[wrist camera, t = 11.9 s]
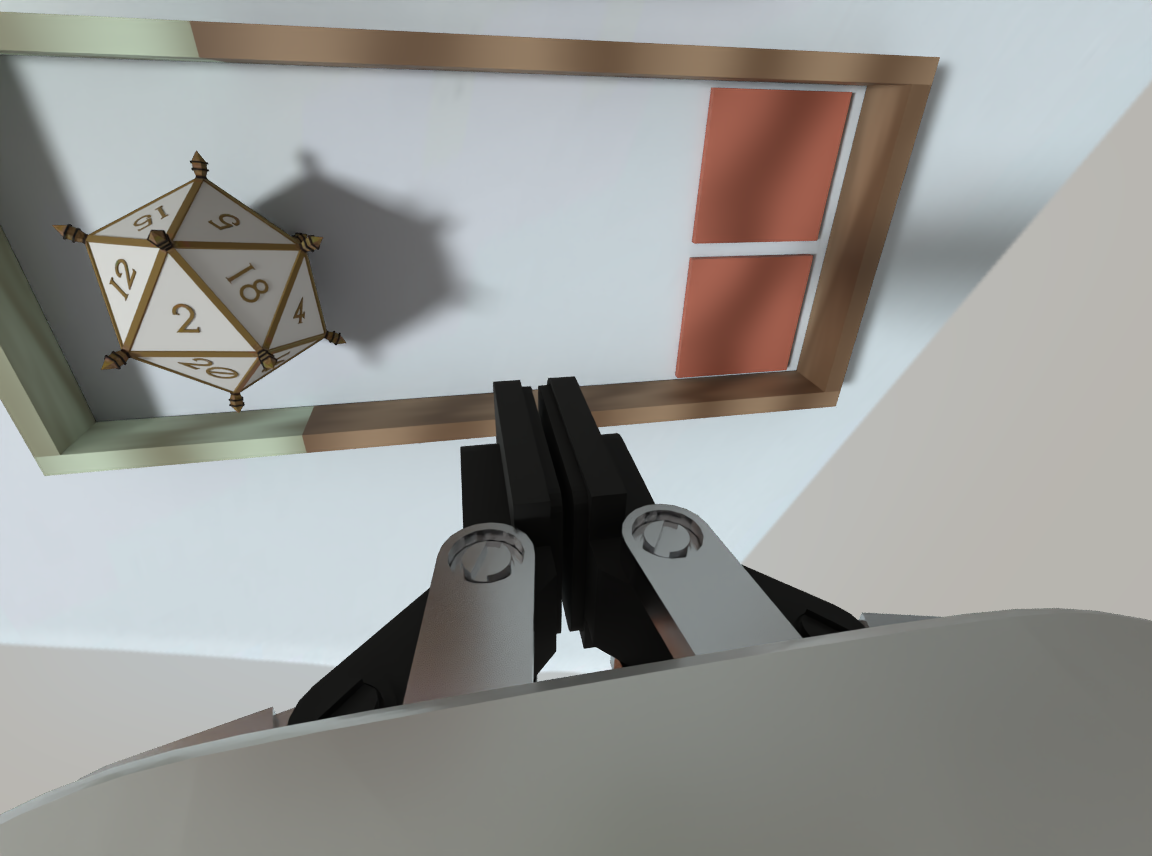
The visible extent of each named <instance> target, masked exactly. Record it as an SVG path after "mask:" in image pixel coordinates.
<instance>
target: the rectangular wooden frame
mask: <svg viewBox="0 0 1152 856" xmlns="http://www.w3.org/2000/svg"><path fill="white" fill-rule="evenodd" d="M0 54H2V55H30V56H58V57H85V58H113V59H141V60H168V61H196V62H224V63H251V64H279V65H307V66H335V67H362V68H390V69H418V70H445V71H473V72H501V73H528V74H556V75H584V76H611V77H639V78H667V79H695V80H722V81H750V82H778V83H805V84H833V85H861V86H867V88H866V92H865V96H864V100H863V104H862V108H861V112H860V116H859V120H858V124H857V128H856V132H855V136H854V141H853V145H852V149H851V153H850V157H849V161H848V165H847V169H846V173H845V177H844V181H843V185H842V189H841V193H840V197H839V201H838V205H837V209H836V213H835V217H834V221H833V225H832V229H831V233H830V237H829V241H828V245H827V249H826V253H825V257H824V262H823V266H822V270H821V274H820V278H819V282H818V286H817V290H816V294H815V298H814V302H813V306H812V310H811V314H810V318H809V322H808V326H807V330H806V334H805V338H804V342H803V346H802V350H801V354H800V358H799V362H798V366H797V370H796V371H785V372H772V373H758V374H745V375H731V376H717V377H704V378H690V379H676V380H663V381H649V382H635V383H622V384H608V385H594V386H581V387H580V389H581V391H582V393H583V396H584V398H585V400H586V402H587V405H588V407H589V409H590V411H591V413H592V416H593V418H594V420H595V422H596V425H597V427H606V426H618V425H629V424H640V423H652V422H663V421H674V420H686V419H697V418H708V417H720V416H731V415H742V414H754V413H765V412H776V411H788V410H799V409H811V408H822V407H833V406H836V404H837V400H838V397H839V394H840V390H841V387H842V384H843V380H844V377H845V374H846V370H847V367H848V364H849V360H850V357H851V354H852V350H853V347H854V343H855V340H856V337H857V333H858V330H859V327H860V323H861V320H862V317H863V313H864V310H865V307H866V303H867V300H868V297H869V293H870V290H871V287H872V283H873V280H874V276H875V273H876V270H877V266H878V263H879V260H880V256H881V253H882V250H883V246H884V243H885V240H886V236H887V233H888V230H889V226H890V223H891V220H892V216H893V213H894V209H895V206H896V203H897V199H898V196H899V193H900V189H901V186H902V183H903V179H904V176H905V173H906V169H907V166H908V163H909V159H910V156H911V153H912V149H913V146H914V142H915V139H916V136H917V132H918V129H919V126H920V122H921V119H922V116H923V112H924V109H925V106H926V102H927V99H928V96H929V92H930V89H931V86H932V82H933V79H934V75H935V72H936V69H937V65H938V62H939V59H940V57H922V56H901V55H880V54H860V53H839V52H819V51H798V50H778V49H757V48H736V47H716V46H695V45H675V44H654V43H633V42H613V41H592V40H572V39H551V38H530V37H510V36H489V35H469V34H448V33H428V32H407V31H386V30H366V29H345V28H325V27H304V26H283V25H263V24H242V23H222V22H201V21H180V20H160V19H139V18H119V17H98V16H78V15H57V14H36V13H16V12H0ZM851 95H852V92H828V91H798V90H768V89H738V88H711V94H710V102H709V110H708V117H707V125H706V133H705V141H704V149H703V157H702V165H701V173H700V181H699V189H698V197H697V205H696V213H695V221H694V229H693V237H692V242H693V243H695V244H697V243H739V242H781V241H817V239H818V234H819V230H820V226H821V222H822V217H823V213H824V209H825V205H826V201H827V196H828V192H829V188H830V184H831V180H832V175H833V171H834V167H835V163H836V158H837V154H838V150H839V146H840V142H841V137H842V133H843V129H844V125H845V121H846V116H847V112H848V108H849V104H850V100H851ZM812 260H813V255H810V254H796V255H761V256H727V257H692V258H690V261H689V269H688V277H687V285H686V293H685V301H684V309H683V317H682V325H681V333H680V341H679V349H678V357H677V365H676V373H675V375H676V377H677V378H683V377H697V376H711V375H724V374H738V373H752V372H766V371H779V370H786V369H787V365H788V361H789V356H790V352H791V348H792V344H793V340H794V335H795V331H796V327H797V323H798V319H799V314H800V310H801V306H802V302H803V297H804V293H805V289H806V285H807V281H808V276H809V272H810V268H811V264H812ZM532 392H533V395H534V399H535V402H536V406H537V409H538V390H532ZM0 399H1V401H2V403H3V405H4V406H5V408H6V410H7V412H8V413H9V415H10V417H11V418H12V420H13V422H14V424H15V425H16V427H17V429H18V431H19V432H20V434H21V436H22V438H23V439H24V441H25V443H26V444H27V446H28V448H29V450H30V451H31V453H32V455H33V457H34V458H35V460H36V462H37V464H38V465H39V467H40V469H41V471H42V472H43V474H44V476H50V475H61V474H73V473H84V472H95V471H107V470H118V469H129V468H141V467H152V466H163V465H175V464H186V463H198V462H209V461H220V460H232V459H243V458H254V457H266V456H277V455H288V454H300V453H311V452H322V451H334V450H345V449H356V448H368V447H379V446H391V445H402V444H413V443H425V442H436V441H447V440H459V439H470V438H481V437H493V436H496V425H495V409H494V393H485V394H471V395H458V396H444V397H430V398H417V399H403V400H390V401H376V402H362V403H349V404H335V405H321V406H308V407H294V408H280V409H267V410H253V411H240V413H238V412H226V413H212V414H198V415H185V416H171V417H157V418H144V419H130V420H116V421H103V422H96V421H95V419H94V417H93V415H92V413H91V411H90V409H89V407H88V404H87V402H86V400H85V398H84V396H83V394H82V392H81V390H80V388H79V386H78V384H77V382H76V380H75V378H74V376H73V374H72V372H71V370H70V368H69V366H68V363H67V361H66V359H65V357H64V355H63V353H62V351H61V349H60V347H59V345H58V343H57V341H56V339H55V337H54V335H53V333H52V331H51V329H50V327H49V325H48V322H47V320H46V318H45V316H44V314H43V312H42V310H41V308H40V306H39V304H38V302H37V300H36V298H35V296H34V294H33V292H32V290H31V288H30V286H29V284H28V281H27V279H26V277H25V275H24V273H23V271H22V269H21V267H20V265H19V263H18V261H17V259H16V257H15V255H14V253H13V251H12V249H11V247H10V245H9V243H8V240H7V238H6V236H5V234H4V232H3V230H2V228H1V226H0Z"/></svg>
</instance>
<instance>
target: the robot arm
mask: <svg viewBox="0 0 1152 856" xmlns="http://www.w3.org/2000/svg"><path fill="white" fill-rule="evenodd" d="M493 392H494V409H495V425H496V442H497V444H485V445H474V446H462V447H460V451H461V479H462V507H463V529H461V530H460V531H458V532H457V533H455V534H453V535H452V536H450V537H449V539H448V540H447V541H446V542H445V543H444V544H443V545H442V547H441V549H440V551H439V553H438V556H437V560H436V564H435V569H434V573H433V577H432V581H431V586H430V588H429V589H428V590H427V591H425V592H424V593H423V594H422V595H421V596H419V597H418V598H417V599H416V600H415V601H413V602H412V603H411V604H410V605H409V606H408V607H406V608H405V609H404V610H403V611H402V612H400V613H399V614H398V615H397V616H396V617H395V618H393V619H392V620H391V621H390V622H389V623H387V624H386V625H385V626H384V627H383V628H381V629H380V630H379V631H378V632H377V633H376V634H374V635H373V636H372V637H371V638H370V639H368V640H367V641H366V642H365V643H364V644H363V645H361V646H360V647H359V648H358V649H357V650H355V651H354V652H353V653H352V654H351V655H349V656H348V657H347V658H346V659H345V660H344V661H342V662H341V663H340V664H339V665H338V666H336V667H335V668H334V669H333V670H332V671H331V672H329V673H328V674H327V675H326V676H325V677H323V678H322V679H321V680H320V681H319V682H318V683H316V684H315V685H314V686H313V687H312V688H311V689H310V690H309V691H308V692H307V693H306V694H305V695H304V696H303V698H302V699H300V701H299V702H298V704H297V705H296V707H295V708H292V709H290V710H287V711H284V712H281V713H279V714H276V713H275V711H274V708H273V707H271V708H268V709H265V710H262V711H259V712H256V713H254V714H251V715H248V716H245V717H242V718H239V719H237V720H234V721H231V722H229V723H225V724H223V725H220V726H217V727H214V728H211V729H208V730H206V731H203V732H200V733H197V734H194V735H192V736H189V737H186V738H183V739H180V740H177V741H174V742H172V743H169V744H166V745H163V746H161V747H157V748H155V749H152V750H149V751H146V752H143V753H141V754H138V755H135V756H132V757H129V758H127V759H124V760H121V761H118V762H115V763H112V764H110V765H107V766H104V767H102V768H100V769H98V770H96V771H94V772H92V773H90V774H88V775H86V776H84V777H82V778H80V779H79V780H77V781H75V782H73V783H70V784H67V785H65V786H62V787H59V788H57V789H54V790H51V791H49V792H46V793H44V794H42V795H40V796H38V797H36V798H34V799H32V800H30V801H27V802H25V803H23V804H21V805H19V806H17V807H15V808H13V809H11V810H9V811H6V812H4V813H2V814H0V856H1152V621H1151V620H1147V619H1141V618H1135V617H1130V616H1124V615H1118V614H1112V613H1106V612H1100V611H1092V610H1091V611H1090V610H1076V609H1060V608H1044V609H1011V610H1002V611H992V612H982V613H971V614H961V615H954V616H947V617H934V616H915V615H897V614H877V613H862V614H861V616H860V619H859V620H857V619H856V618H855V617H854V616H852V615H851V614H850V613H848V612H846V611H844V610H843V609H841V608H839V607H837V606H835V605H833V604H831V603H829V602H827V601H824V600H822V599H820V598H817V597H815V596H813V595H810V594H808V593H806V592H804V591H801V590H799V589H797V588H794V587H792V586H790V585H787V584H785V583H783V582H780V581H778V580H776V579H773V578H771V577H769V576H767V575H764V574H762V573H759V572H757V571H755V570H753V569H750V568H748V567H746V566H744V565H741V564H740V563H739V561H738V560H737V559H736V558H735V557H734V555H733V554H732V553H731V552H730V551H729V549H728V548H727V547H726V546H725V545H724V543H723V542H722V541H721V540H720V539H719V537H718V536H717V535H716V534H715V533H714V531H713V530H712V529H711V528H710V527H709V525H708V524H707V523H706V522H705V521H704V520H703V519H701V518H700V517H699V516H698V515H696V514H695V513H693V512H691V511H689V510H687V509H685V508H681V507H678V506H675V505H667V504H655V503H654V501H653V499H652V497H651V495H650V493H649V491H648V489H647V487H646V485H645V483H644V481H643V479H642V477H641V475H640V473H639V471H638V469H637V467H636V465H635V463H634V461H633V459H632V457H631V455H630V453H629V451H628V449H627V447H626V445H625V443H624V441H623V439H622V437H621V436H620V434H617V433H614V434H603V435H601V434H600V431H599V429H598V427H597V425H596V422H595V420H594V418H593V416H592V413H591V411H590V409H589V407H588V405H587V402H586V400H585V398H584V396H583V393H582V391H581V389H580V387H579V384H578V382H577V380H576V378H575V376H574V377H559V378H548V381H547V385H542V386H538V409H537V406H536V402H535V399H534V395H533V392H532V388H531V386H527V387H522V386H521V382H520V380H513V381H498V382H493ZM562 602H563V607H564V611H565V616H566V620H567V625H568V628H569V631H570V632H571V631H578V630H579V631H580V635H581V639H582V643H583V647H584V649H586V648H592V647H597V648H599V649H600V650H602V651H604V652H605V653H607V654H609V655H611V660H610V663H611V667H612V669H611V670H605V671H599V672H593V673H587V674H581V675H575V676H569V677H564V678H557V679H551V680H545V681H539V682H537V674H538V673H539V672H540V670H541V669H542V668H543V667H544V666H545V664H546V663H547V662H548V661H549V659H550V658H551V657H552V656H553V655H554V653H555V652H556V634H558V633H561V618H562Z"/></svg>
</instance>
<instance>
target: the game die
mask: <svg viewBox="0 0 1152 856" xmlns="http://www.w3.org/2000/svg"><path fill="white" fill-rule="evenodd" d="M190 163H192V167H193V168H192V170H194V173H195V175H196V178H195V179H193V180H191V181H189V182H187V183H186V184H184V185H182V186H180V187H178V188H176V189H174V190H172V191H170V192H168V193H167V194H165V195H163V196H161V197H159V198H157V199H155V200H153V201H151V202H150V203H148V204H146V205H144V206H142V207H140V208H138V209H136V210H134V211H132V212H131V213H129V214H127V215H125V216H123V217H121V218H119V219H117V220H115V221H114V222H112V223H110V224H108V225H106V226H104V227H102V228H100V229H98V230H97V231H95V232H93V233H91V234H89V235H88V234H85V233H84V232H82V231H81V229H80V228H74V227H72V225H71V224H68V225H52V226H53V227H54V228H55V229H56V230H57V231H58V232H59V233H60V234H61V235H62V236H63V239H69V240H72V242H73V243H75V242H82V243H84V244H85V246H86V248H87V251H88V254H89V257H90V260H91V263H92V266H93V269H94V272H95V275H96V278H97V280H98V283H99V286H100V289H101V292H102V295H103V298H104V301H105V304H106V307H107V310H108V312H109V315H110V318H111V321H112V324H113V327H114V330H115V333H116V336H117V339H118V342H119V344H120V347H121V350H120V351H117V352H114V351H113V352H112V353H111V354H110V355H109V356H107V355H105V358H104V360H105V361H104V364H103V366H102V368H101V370H104V369H114V368H116V369H121V368H120V367H121V366H122V365H123V364H124V365H126V364H127V363H126V361H127V360H128V359H129V358H133V359H136V360H139V361H141V362H144V363H147V364H150V365H153V366H156V367H158V368H161V369H164V370H167V371H170V372H173V373H176V374H178V375H181V376H184V377H187V378H190V379H193V380H196V381H198V382H201V383H204V384H207V385H210V386H213V387H216V388H218V389H221V390H224V391H227V392H230V394H231V397H230V399H229V401H230V403H231V404H230V405H229V406H232V407H233V408H234V409H235V410H236V411H237V412H238V413H240V411H241V409H242V407H243V406H244V402H243V397H241V395H240V392H242V391H243V390H245V389H246V388H248V387H249V386H251V385H252V384H254V383H256V382H257V381H259V380H260V379H262V378H263V377H265V376H266V375H268V374H269V373H271V372H272V371H274V370H276V369H277V368H279V367H280V366H282V365H283V364H285V363H286V362H288V361H289V360H291V359H293V358H294V357H296V356H297V355H299V354H300V353H302V352H303V351H305V350H306V349H308V348H310V347H311V346H313V345H314V344H316V343H317V342H319V341H320V340H322V339H323V338H326V339H327V340H329V342H330V343H331V342H333V343H334V344H335V345H337V344H342V343H346V342H345V340H344V339H343V338H342V336H341V335H340V334H341V333H339V334H338V333H335V331H333V332H329V331H327V329H326V325H325V321H324V317H323V313H322V309H321V305H320V301H319V297H318V294H317V290H316V286H315V282H314V278H313V274H312V270H311V266H310V262H309V258H308V254H307V251H312V252H314V250H315V249H317V250H319V247H320V243H321V241H322V239H323V237H315V236H314V235H308V238H307V234H302V233H295V235H294V236H293V235H292V237H291V236H290V235H289V234H287V233H286V232H284V231H283V230H281V229H280V228H278V227H277V226H275V225H274V224H272V223H271V222H269V221H268V220H266V219H265V218H264V217H262V216H261V215H259V214H258V213H256V212H255V211H253V210H252V209H250V208H249V207H247V206H246V205H244V204H243V203H242V202H240V201H239V200H237V199H236V198H234V197H233V196H231V195H230V194H228V193H227V192H225V191H224V190H222V189H221V188H220V187H218V186H217V185H215V184H214V183H212V182H211V181H209V180H208V179H207V177H206V175H207V171H209V170H208V169H207V164H208V163H207V162H205V160H204V159H203V158H202V157H201V155H200V154H199V153H198V152H197V150H196V152H195V154H194V156H193V158H192V161H190Z"/></svg>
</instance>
